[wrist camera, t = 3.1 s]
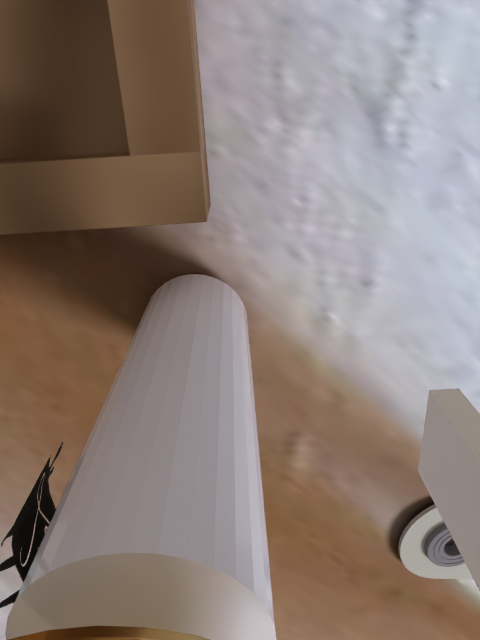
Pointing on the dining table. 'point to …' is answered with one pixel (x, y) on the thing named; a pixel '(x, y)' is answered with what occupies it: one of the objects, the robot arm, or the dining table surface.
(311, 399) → the dining table surface
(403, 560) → the bracket
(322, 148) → the dining table surface
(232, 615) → the perfume bottle
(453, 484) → the robot arm
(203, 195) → the holder
